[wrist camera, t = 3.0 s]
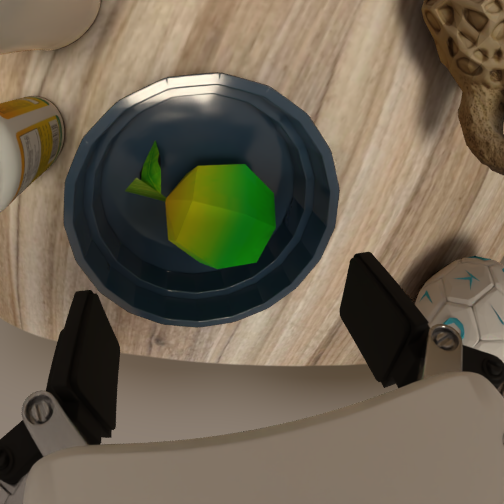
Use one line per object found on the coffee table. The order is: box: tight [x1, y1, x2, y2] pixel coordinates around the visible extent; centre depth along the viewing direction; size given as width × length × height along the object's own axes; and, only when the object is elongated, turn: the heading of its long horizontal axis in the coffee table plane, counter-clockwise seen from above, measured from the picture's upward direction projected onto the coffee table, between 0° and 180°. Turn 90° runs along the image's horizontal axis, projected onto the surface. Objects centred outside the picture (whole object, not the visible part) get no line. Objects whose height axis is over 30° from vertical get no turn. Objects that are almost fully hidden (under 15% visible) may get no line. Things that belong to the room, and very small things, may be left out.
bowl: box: [64, 73, 340, 327], centre depth 18 cm, size 15×15×5 cm
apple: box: [125, 141, 276, 269], centre depth 17 cm, size 7×6×9 cm
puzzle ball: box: [415, 256, 504, 363], centre depth 26 cm, size 15×15×15 cm
